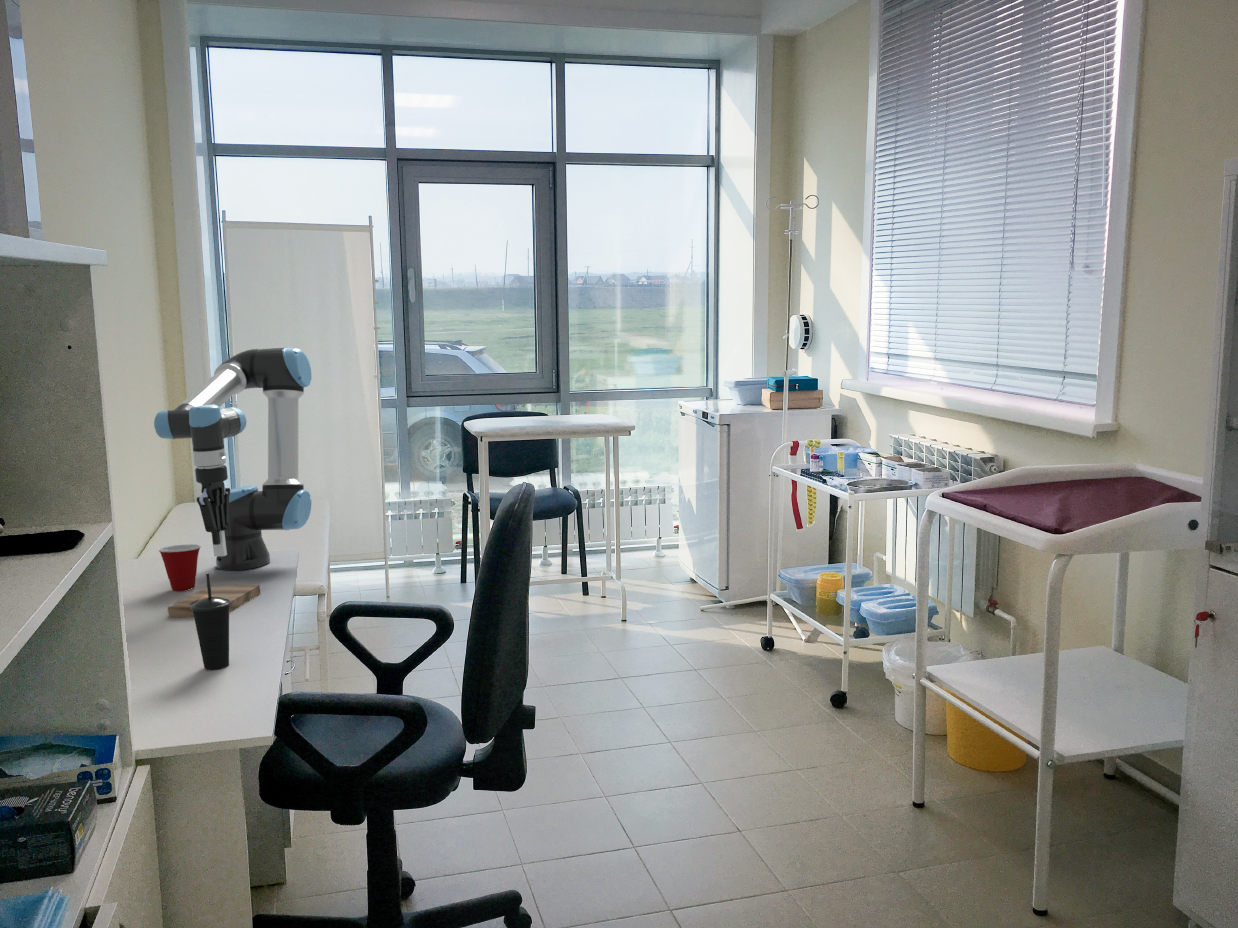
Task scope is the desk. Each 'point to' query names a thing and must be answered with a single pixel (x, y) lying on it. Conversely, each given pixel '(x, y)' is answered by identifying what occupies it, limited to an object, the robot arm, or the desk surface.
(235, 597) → the board
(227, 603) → the drinking cup
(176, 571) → the plastic cup
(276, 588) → the desk surface
